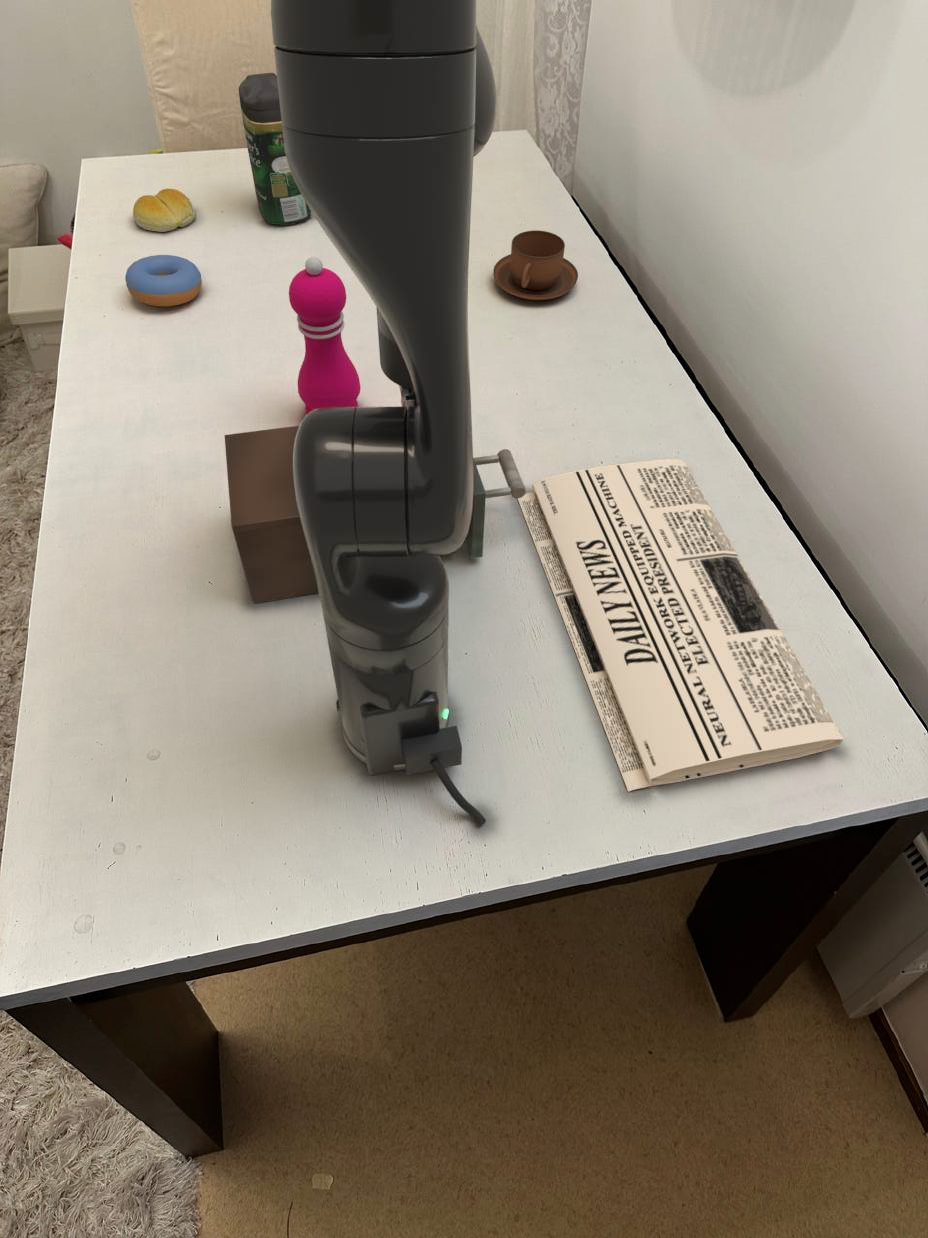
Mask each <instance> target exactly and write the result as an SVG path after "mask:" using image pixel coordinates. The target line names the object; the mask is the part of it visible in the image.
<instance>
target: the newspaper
mask: <svg viewBox="0 0 928 1238" xmlns="http://www.w3.org/2000/svg"><path fill="white" fill-rule="evenodd" d="M532 490H533V492H526V493H525V495H524V496H523V497H521V498H517V501H518V502H519V506H520V509H521V511H522V514H523V516H524V519H525V522H526V525H527V527H528V530H529V532H530V535H531V538H532V541H533V543H534V546H535V548H536V549H535V550H536V551H537V554H538V557H539V559H540V561H541V564H542V568H543V570H544V572H545V575H546V578H547V580H548V583H549V585H550V589H551V591H552V594H553V596H554V599H555V601H556V605H557V607H558V610H559V612H560V615H561V618H562V620H563V623H564V625H565V629H566V630H567V633H568V636H569V639H570V641H571V644H572V647H573V649H574V651H575V655H576V657H577V660H578V662H579V665H580V668H581V670H582V673H583V676H584V678H585V682H586V684H587V686H588V689H589V691H590V694H591V697H592V700H593V702H594V705H595V707H596V711H597V713H598V715H599V718H600V720H601V723H602V726H603V729H604V731H605V733H606V736H607V740H608V741H609V745H610V747H611V750H612V752H613V756H614V758H615V760H616V763H617V766H618V769H619V772H620V774H621V776H622V779H623V781H624V784H625V787H626V790H627V792H631V791H635V790H639V789H643V788H648V787H653V786H662V785H668V784H674V783H680V782H685V781H690V780H694V779H701V778H704V777H709V776H715V775H719V774H725V773H729V772H734V771H739V770H745V769H750V768H754V767H760V766H763V765H769V764H774V763H778V762H779V763H780V762H783V761H784V762H785V761H789V760H794V759H799V758H803V757H806V756H810V755H814V754H818V753H821V752H825V751H829V750H832V749H834V748H836V747H839V746H840V745H842V743H843V741H844V737H843V736H842V734H841V731H839V729H838V727H837V726H836V724H835V722H834V720H833V718H832V716H831V715H830V713H829V711H828V709H827V708H826V706H825V704H824V702H823V701H822V698H820V695H819V693H817V690H816V689H815V687H814V685H813V684H812V682H811V680H810V678H809V677H808V675H807V673H806V672H805V670H804V668H803V666H802V664H801V663H800V660H799V659H798V657H797V655H796V654H795V652H794V650H793V649H792V647H791V645H790V643H789V642H788V640H787V638H786V636H785V635H784V633H783V632H782V630H781V628H780V626H779V624H778V622H777V621H776V619H775V617H774V615H773V614H772V613H771V611H770V609H769V607H768V605H767V604H766V602H765V600H764V598H763V597H762V595H761V594H760V591H759V590H758V588H757V586H756V584H755V583H754V581H753V579H752V577H751V576H750V574H749V572H748V570H747V569H746V567H745V565H744V564H743V562H742V560H741V559H740V556H739V555H738V553H737V551H736V550H735V548H734V546H733V544H732V543H731V540H730V539H729V538H728V536H727V534H726V532H725V531H724V529H723V527H722V525H721V524H720V522H719V520H718V518H717V517H716V515H715V513H714V512H713V510H712V508H711V506H710V505H709V503H708V501H707V500H706V498H705V496H704V494H703V493H702V491H701V489H700V487H699V486H698V483H697V482H696V481H695V478H694V477H693V475H692V473H691V472H690V470H689V468H688V466H687V465H686V463H685V461H684V460H681V459H676V458H675V459H674V458H666V459H665V458H664V459H655V460H645V461H636V462H625V463H617V464H608V465H601V466H596V467H589V468H584V469H579V470H574V471H570V472H569V471H567V472H563V473H558V474H553V475H548V476H546V477H544V478H542V479H539V480H537V481H536V482H533V483H532Z"/></svg>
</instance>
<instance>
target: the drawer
mask: <svg viewBox="0 0 928 1238" xmlns="http://www.w3.org/2000/svg"><path fill="white" fill-rule="evenodd" d="M497 463H499V466H500V468H501V471H502V474H503V476H504V479H505V481H506V484H507V487H501V488H500V487H499V488H493V489H485V486H484V483H483V481H482V478H481V475H480V472H479V468H478V466H483V465H489V464H490V465H491V464H497ZM526 493H527V489H526V486H525V484H524V482H523V480H522V477H521V475H520V471H519V469H518V467H517V464H516V461H515V459H514V457H513V454H512V452H511V450H509V449H507V448H504V449H503V448H502V449H501V450H499V451H498V453H497V454H492V455H484V456H478V457H473V507H472V516H471V522H470V526H469V530H468V533H467V536H466V538H465V540H464V541H465V543H466V546H467V549H468V552H469V555H470V558H471V559H478V558H482V557H483V556H484V555H483V554H484V536H485V519H486V518H485V516H486V499H492V498H498V497H505V496H511V497H512V498H514V499H518V498H521V497H523V496H524V495H525V494H526ZM456 553H457V550H455V551H454V552H452V553H448V554H447V555H451V554H456ZM444 555H446V554H443V555H442V556H444Z"/></svg>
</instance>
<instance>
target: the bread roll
mask: <svg viewBox="0 0 928 1238" xmlns="http://www.w3.org/2000/svg"><path fill="white" fill-rule="evenodd" d="M132 208H133V209H132V216H133V220H134V222H135V223H136V224H137V226H138V227H140V228H141V229H143V230H147V231H152V232H159V233H165V232H171V231H175V229H177V228H178V227H180V228H182V227H186V226H188V225H189V224H191V223H192V222H193V221H194V220H195V218H196V214H197V212H196V211H195V210H194V207H193V204H192V201H191V200H190V198H189V197H188V196H187V195H186V194H185V193H183V192H182V191H181V190H178V189H175V188H163V189H161V190H159V191H158V192H157V193H156V194H155V195H153V194H152V195H151V194H150V195H149V194H145V195H141V196H140V197H138V199H137V200H136V201H135V203H134V204H133V207H132Z"/></svg>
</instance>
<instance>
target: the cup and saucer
mask: <svg viewBox="0 0 928 1238" xmlns="http://www.w3.org/2000/svg"><path fill="white" fill-rule="evenodd" d="M510 248H511V249H510V254H507V255H505V256H504V257H502V258H500V259H499V260H498V261H497V262H496V263H495V264H494V267H493V270H492V271H493V273H492V274H493V278H494V281H495V283H496V284H497V285H498V286H499V287H500V288H501V289H502V290H503V291H505V292H506V293H508V294H510V295H511V296H514V297H517V298H521V299H524V300H529V301H530V300H531V301H544V300H551V299H552V300H553V299H556V298H558V297H561V296H563V295H565V294H567V293H569V292H570V291H571V290H572V289H573V288H574V287H575V286H576V284H577V282H578V280H579V272H578V270H577V268H576V266H575V265H574V264H573V263H572V262H571V261H570V260H568V259H566V258H565V257H564V255H565V248H566V244H565V241H564V239H563V238H562V237H560V236H559V235H558V234H556V233H553V232H550V231H547V230H535V229H534V230H526V231H523V232H520V233H518V234H516V235H515V236H514V237H513V238H512V239H511V247H510Z"/></svg>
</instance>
